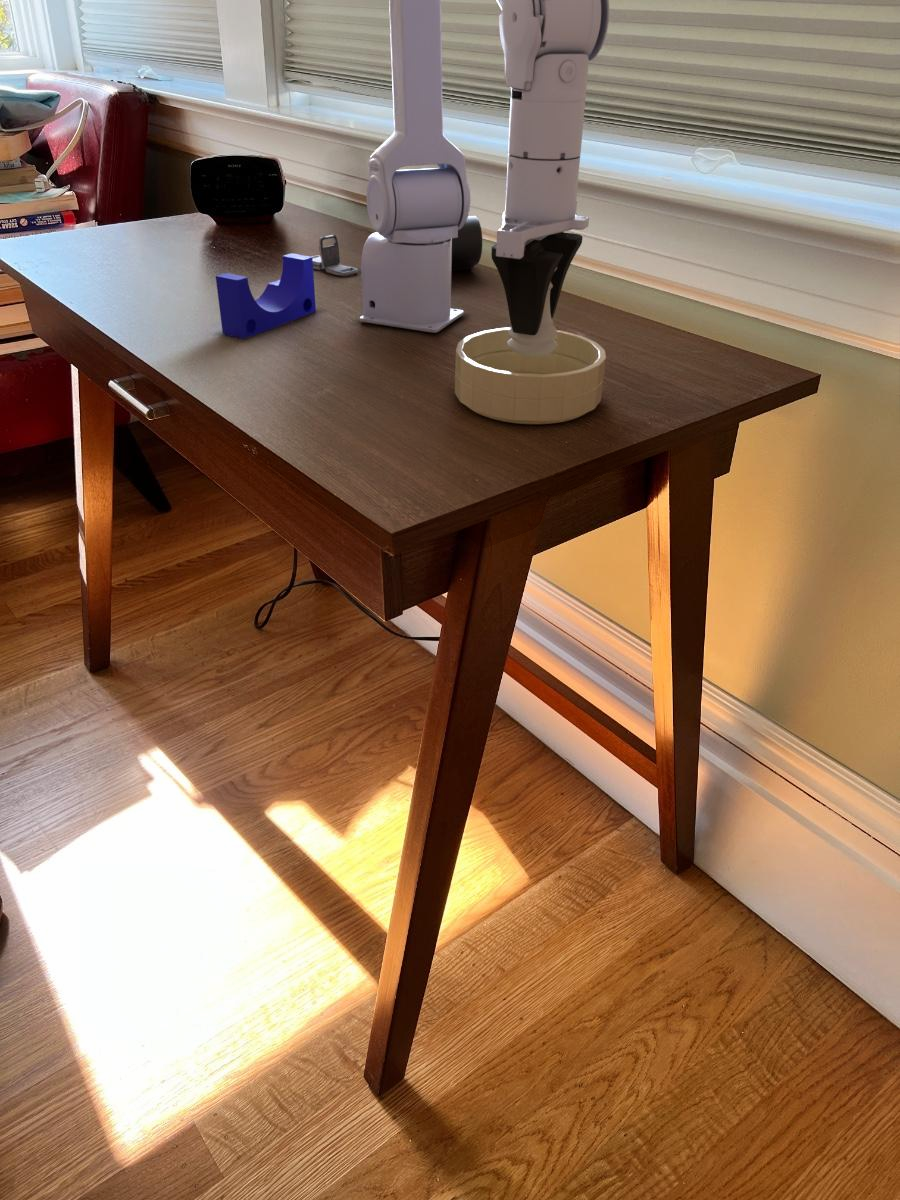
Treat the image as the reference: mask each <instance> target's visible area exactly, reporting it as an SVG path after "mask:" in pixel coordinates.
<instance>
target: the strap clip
mask: <svg viewBox="0 0 900 1200" xmlns="http://www.w3.org/2000/svg"><path fill="white" fill-rule="evenodd" d="M329 239H332V242H333V245H327V246H324V245H323V244H324V243H323V241H324V240H329ZM339 248H340V247H339V242H338V238H337V236H336V235H335V234H331V235H325V236H321V237H320V238H319V241H318V250H319V255H312V256H311V257H312V258H313V270H319V271H320V270H324V269H325V272H326V273H329V274H332V275H336V276H348V275H351V274H356V273H358V272H359V268H357V267H353V266H349V265H345V264H341V263H340V262H341V259H340V258H341V257H340V249H339Z"/></svg>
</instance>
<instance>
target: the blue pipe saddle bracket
mask: <svg viewBox="0 0 900 1200" xmlns="http://www.w3.org/2000/svg"><path fill="white" fill-rule="evenodd" d="M215 283H216V290H217V291H216V292H217V299H218V300H217V301H218V307H219V315H220V323H221V332H222V334H223V335H225V336H229V337H230V336H231V337H235V338H239V339H243V340H244V339H247V338H249V337H253V336H255V335H258V334H260V333H263V332H266V331H268V330H271V329H274V328H276V327H279V326H282V325H285V324H287V323H289V322H292V321H295V320H297V319H300V318H303V317H306V316H308V315H311V314H313V313H317V308H316V307H317V305H316V291H315V290H316V289H315V277H314V268H313V258H312V256H309V255H302V254H297V253H292V252H291V253H288V254H284V255H282V270H281V276H280V279H277V280H275V281H272V282H269V283H267V285H266V287H265V288H264V291H263V292H262V294H261V295H260V296H259V297H258V298H256V300H255V298H254V296H253V293H252V291H251V289H250V285H249V279H248V277H247V276H243V275H239V274H233V273H230V272H229V273H228V272H224V273H220V274H217V275H215Z"/></svg>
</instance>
